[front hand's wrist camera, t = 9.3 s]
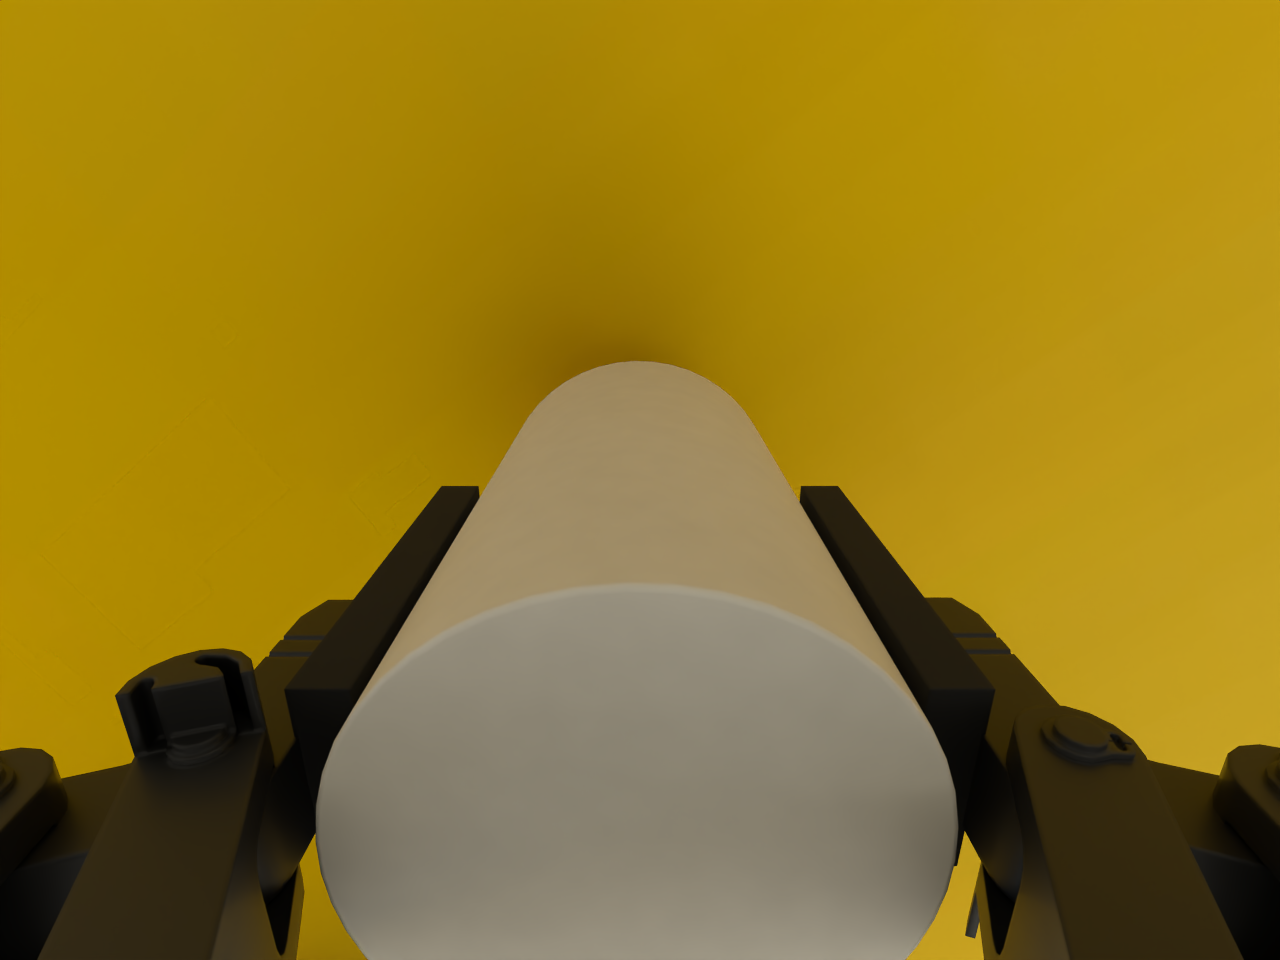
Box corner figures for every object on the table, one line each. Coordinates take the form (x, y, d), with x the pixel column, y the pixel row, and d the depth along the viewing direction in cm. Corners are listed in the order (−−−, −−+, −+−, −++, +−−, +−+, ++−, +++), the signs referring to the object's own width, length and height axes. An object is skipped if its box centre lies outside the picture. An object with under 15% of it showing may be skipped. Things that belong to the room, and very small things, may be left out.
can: (823, 485, 17) (1092, 859, 7) (643, 647, 19) (647, 1140, 9) (632, 300, 15) (619, 431, 5) (454, 495, 17) (187, 876, 7)
